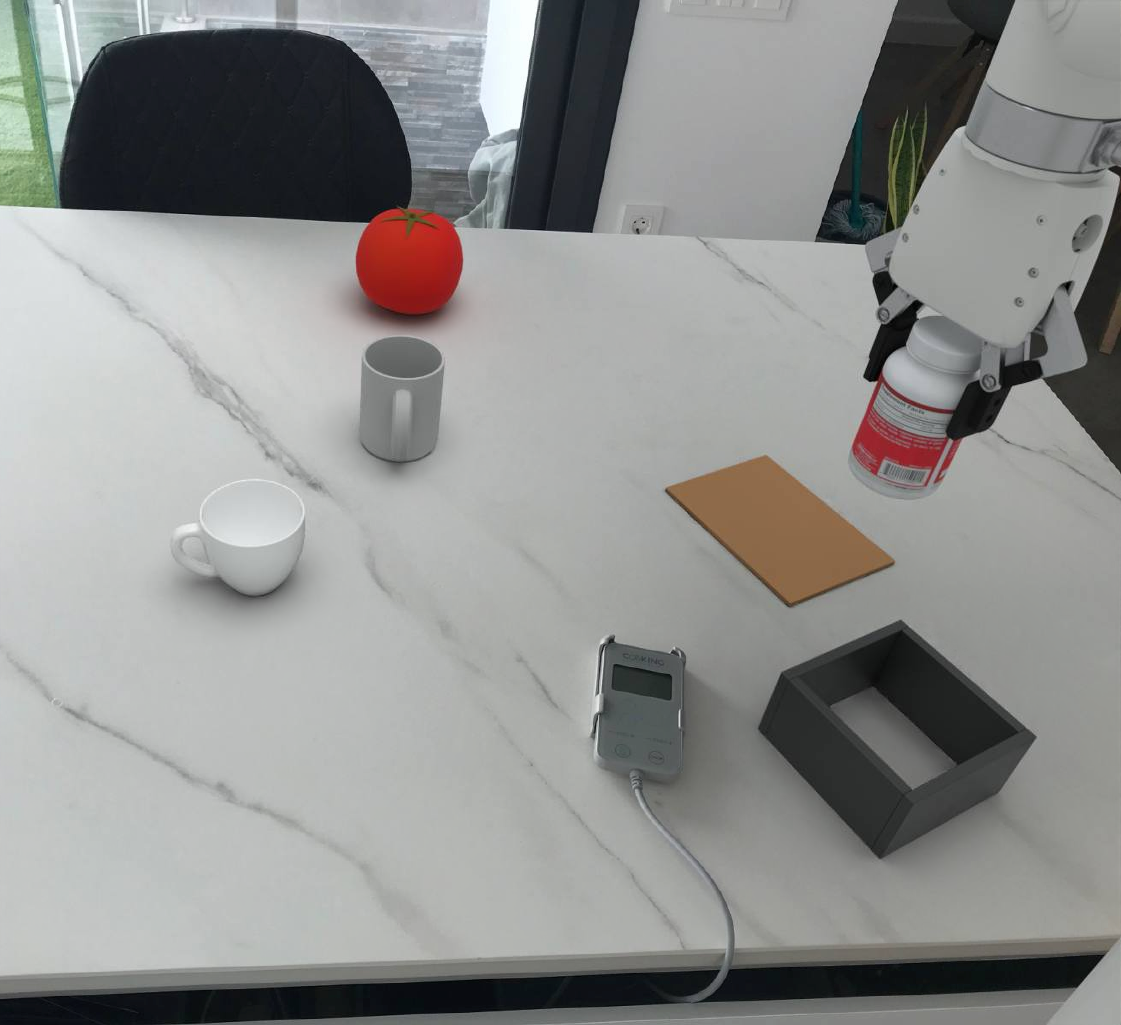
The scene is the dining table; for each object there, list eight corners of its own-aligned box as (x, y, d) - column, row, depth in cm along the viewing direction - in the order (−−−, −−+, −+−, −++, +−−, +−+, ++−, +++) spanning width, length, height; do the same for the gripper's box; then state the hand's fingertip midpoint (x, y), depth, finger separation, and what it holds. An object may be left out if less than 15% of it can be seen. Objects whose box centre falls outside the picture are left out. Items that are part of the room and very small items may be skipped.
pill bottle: (899, 441, 77) (959, 303, 69) (957, 495, 72) (1028, 354, 65) (826, 455, 75) (880, 314, 67) (882, 510, 70) (946, 367, 63)
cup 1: (313, 605, 82) (312, 539, 78) (178, 622, 80) (170, 555, 75) (297, 539, 88) (296, 473, 83) (171, 553, 85) (164, 486, 81)
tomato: (464, 284, 123) (473, 196, 116) (449, 339, 113) (458, 247, 106) (367, 271, 123) (370, 183, 116) (344, 324, 114) (346, 232, 107)
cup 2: (436, 418, 102) (443, 337, 96) (439, 485, 95) (447, 400, 89) (360, 415, 102) (363, 333, 96) (356, 481, 94) (359, 396, 88)
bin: (999, 791, 74) (1037, 736, 70) (880, 859, 69) (913, 804, 65) (872, 674, 81) (900, 618, 77) (757, 728, 76) (780, 671, 72)
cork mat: (894, 564, 91) (895, 560, 91) (789, 607, 86) (790, 603, 86) (765, 457, 101) (766, 454, 101) (664, 490, 96) (665, 487, 96)
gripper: (1237, 183, 54) (1073, 465, 66) (962, 69, 65) (864, 328, 77) (1146, 205, 51) (992, 497, 63) (874, 81, 62) (786, 349, 74)
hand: (922, 401), depth 70 cm, fingers closed on pill bottle, 6 cm apart
